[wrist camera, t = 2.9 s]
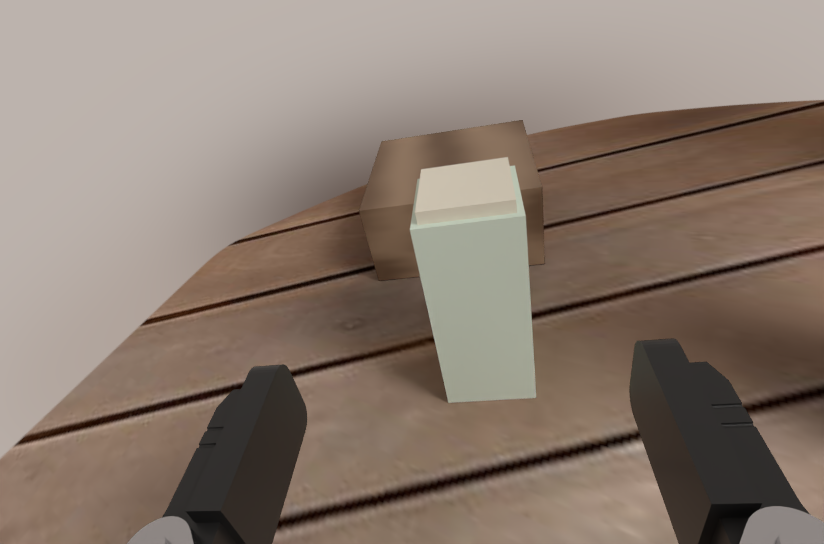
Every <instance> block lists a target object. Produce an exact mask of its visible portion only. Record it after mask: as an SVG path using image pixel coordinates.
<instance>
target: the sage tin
mask: <svg viewBox="0 0 824 544" xmlns="http://www.w3.org/2000/svg"><path fill="white" fill-rule="evenodd" d="M410 233H411V238H412V242H413V246H414V251H415V255H416V260H417V264H418V269H419V273H420V278H421V282H422V287H423V291H424V296H425V300H426V305H427V309H428V314H429V318H430V323H431V327H432V332H433V336H434V340H435V345H436V349H437V354H438V358H439V363H440V367H441V372H442V376H443V381H444V385H445V390H446V394H447V399H448V403H455V402H473V401H490V400H508V399H525V398H536V384H535V367H534V350H533V333H532V316H531V298H530V281H529V264H528V247H527V229H526V215H525V210H524V206H523V201H522V196H521V192H520V187H519V182H518V178H517V173H516V168H515V165H514V166H510V165H509V160H508V157H504V158H497V159H490V160H483V161H476V162H469V163H462V164H455V165H448V166H441V167H434V168H427V169H421V173H420V179H417V186H416V192H415V199H414V205H413V212H412V219H411V225H410Z"/></svg>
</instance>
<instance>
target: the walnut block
mask: <svg viewBox="0 0 824 544" xmlns="http://www.w3.org/2000/svg"><path fill="white" fill-rule="evenodd" d="M504 157H508V160H509V165H510V166H514V165H515V168H516V173H517V178H518V182H519V187H520V192H521V196H522V201H523V206H524V210H525V215H526V229H527V247H528V264H529V265H537V264H545V256H544V225H543V195H542V185H541V181H540V178H539V174H538V171H537V168H536V164H535V161H534V157H533V154H532V151H531V147H530V144H529V141H528V137H527V134H526V130H525V127H524V124H523V120H519V121H512V122H506V123H499V124H493V125H486V126H480V127H473V128H467V129H460V130H454V131H447V132H441V133H435V134H427V135H421V136H414V137H408V138H401V139H395V140H388V141H382V142H381V145H380V148H379V151H378V154H377V157H376V160H375V163H374V166H373V169H372V172H371V175H370V178H369V181H368V184H367V187H366V190H365V193H364V196H363V199H362V203H361V206H360V209H359V213H360V217H361V220H362V224H363V227H364V231H365V234H366V238H367V241H368V245H369V248H370V252H371V255H372V259H373V262H374V266H375V269H376V273H377V276H378V280H379V281H381V280H391V279H401V278H411V277H420V273H419V269H418V264H417V260H416V255H415V251H414V246H413V242H412V238H411V233H410V225H411V219H412V212H413V205H414V199H415V192H416V186H417V179H420V173H421V169H427V168H434V167H441V166H448V165H455V164H462V163H469V162H476V161H483V160H490V159H497V158H504Z"/></svg>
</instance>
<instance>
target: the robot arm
mask: <svg viewBox="0 0 824 544" xmlns="http://www.w3.org/2000/svg"><path fill="white" fill-rule="evenodd" d="M630 402H631V407H632V412H633V415H634V418H635V421H636V424H637V427H638V430H639V432H640V435H641V438H642V441H643V444H644V447H645V449H646V452H647V455H648V458H649V461H650V463H651V466H652V469H653V472H654V475H655V478H656V480H657V483H658V486H659V489H660V492H661V495H662V497H663V500H664V503H665V506H666V509H667V512H668V514H669V517H670V520H671V523H672V526H673V529H674V531H675V534H676V537H677V540H678V543H679V544H824V523H823V522H822V521H820V520H819V519H817V518H815V517H813V516H812V515H810V514H809V513H808V511H807V510H806V509H805V508H804V507H803V505H802V504H801V502H800V501H799V499H798V498H797V496H796V495H795V493H794V491H793V489H792V488H791V486H790V484H789V483H788V481H787V479H786V477H785V476H784V474H783V472H782V471H781V469H780V467H779V465H778V464H777V462H776V460H775V459H774V457H773V455H772V454H771V452H770V450H769V448H768V447H767V445H766V443H765V442H764V440H763V438H762V436H761V435H760V433H759V431H758V430H757V428H756V427H754V426H753V421H752V419H751V418H750V416H749V414H748V413H747V411H746V409H745V408H743V407H742V402H741V401H740V399H739V397H738V395H737V394H736V392H735V390H734V389H733V387H732V385H731V383H730V382H729V380H728V379H726V378H725V377H724V376H723V375H722V374H720V373H719V372H718V371H717V370H716V369H715V368H713V367H712V366H711V365H710V364H709V363H707V362H694V363H689V361H688V359H687V357H686V355H685V353H684V351H683V349H682V348H681V346H680V344H679V342H678V341H677V340H676V339H674V338H673V339H658V340H644V341H637V342H636V343H635V347H634V355H633V363H632V372H631V380H630ZM306 425H307V411H306V406H305V403H304V401H303V399H302V397H301V394H300V392H299V390H298V388H297V386H296V384H295V381H294V379H293V377H292V375H291V373H290V371H289V369H288V367H287V366H286V365H270V366H256V367H253V368H252V369H251V370H250V371H249V373H248V375H247V378H246V380H245V382H244V384H243V386H242V388H241V389H238V390H233V391H232V392H231V393H230V394H229V395H228V396H227V397H226V398H225V399H224V400H223V402H222V403H221V404H220V405H219V406H218V407H217V408H216V410H215V412H214V415H213V417H212V419H211V421H210V423H209V425H208V427H207V431H206V432H205V433H204V435H203V437H202V439H201V441H200V443H199V448H197V449H196V451H195V453H194V455H193V457H192V459H191V461H190V463H189V465H188V468H187V470H186V472H185V474H184V476H183V478H182V480H181V482H180V484H179V486H178V488H177V490H176V492H175V494H174V496H173V498H172V500H171V502H170V504H169V506H168V508H167V510H166V512H165V514H164V515H163V517H162V518H160V519H157V520H155V521H153V522H151V523H149V524H148V525H146V526H145V527H143V528H142V529H141V530H139V531H138V532H137V533H136V534H135V535H134V536H133V537H132V538H131V539H130V541H129V542H128V543H127V544H272V542H273V539H274V535H275V532H276V528H277V525H278V522H279V518H280V515H281V512H282V508H283V505H284V501H285V498H286V495H287V491H288V488H289V485H290V481H291V478H292V474H293V471H294V468H295V464H296V461H297V458H298V454H299V451H300V447H301V444H302V441H303V437H304V434H305V430H306Z"/></svg>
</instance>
